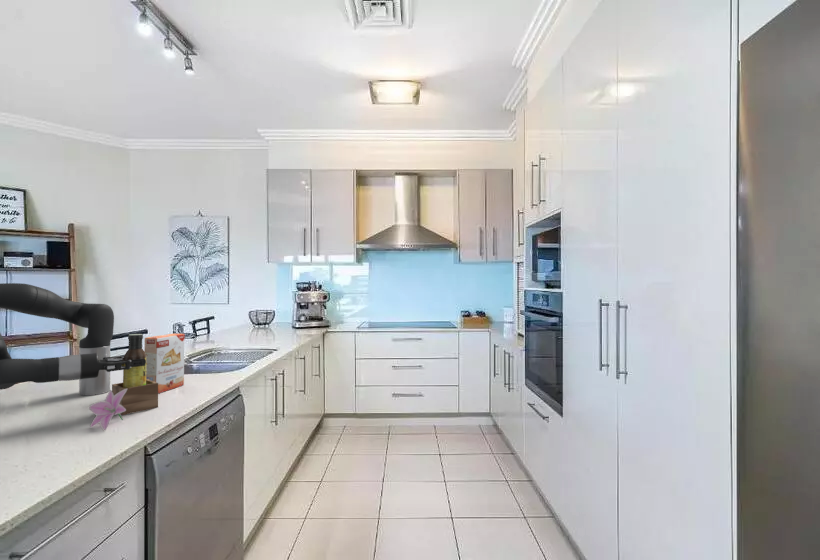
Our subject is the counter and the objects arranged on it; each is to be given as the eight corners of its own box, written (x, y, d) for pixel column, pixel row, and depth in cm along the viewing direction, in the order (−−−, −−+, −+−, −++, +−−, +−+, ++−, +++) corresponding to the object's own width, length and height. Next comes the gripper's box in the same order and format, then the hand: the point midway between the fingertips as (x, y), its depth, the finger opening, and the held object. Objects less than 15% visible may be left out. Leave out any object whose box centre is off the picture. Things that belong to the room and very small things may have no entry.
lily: (89, 424, 120) (74, 401, 116) (132, 401, 128) (121, 379, 123) (100, 447, 113) (85, 423, 109) (146, 421, 121) (134, 398, 116)
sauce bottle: (147, 395, 132) (149, 334, 133) (124, 398, 128) (126, 336, 128) (143, 391, 137) (144, 332, 137) (120, 394, 133) (122, 334, 133)
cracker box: (156, 394, 148) (157, 337, 148) (142, 394, 149) (143, 337, 150) (185, 385, 162) (185, 333, 162) (172, 384, 163) (172, 332, 163)
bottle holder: (111, 408, 132) (112, 384, 132) (146, 401, 140) (146, 378, 140) (122, 415, 126) (122, 389, 126) (158, 407, 134) (158, 383, 134)
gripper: (80, 358, 118) (147, 352, 129) (77, 351, 129) (140, 346, 140) (79, 383, 118) (147, 375, 129) (77, 375, 128) (140, 368, 140)
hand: (143, 360), depth 134 cm, fingers closed on sauce bottle, 6 cm apart
